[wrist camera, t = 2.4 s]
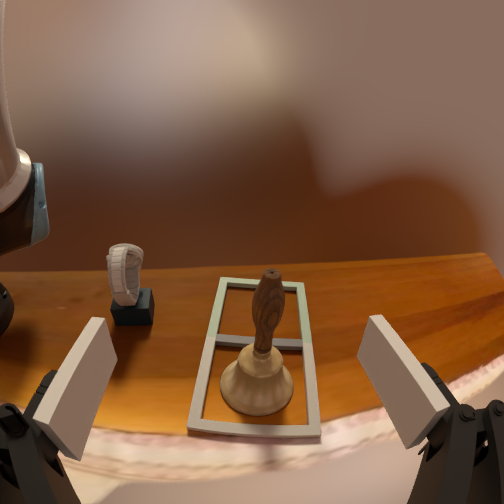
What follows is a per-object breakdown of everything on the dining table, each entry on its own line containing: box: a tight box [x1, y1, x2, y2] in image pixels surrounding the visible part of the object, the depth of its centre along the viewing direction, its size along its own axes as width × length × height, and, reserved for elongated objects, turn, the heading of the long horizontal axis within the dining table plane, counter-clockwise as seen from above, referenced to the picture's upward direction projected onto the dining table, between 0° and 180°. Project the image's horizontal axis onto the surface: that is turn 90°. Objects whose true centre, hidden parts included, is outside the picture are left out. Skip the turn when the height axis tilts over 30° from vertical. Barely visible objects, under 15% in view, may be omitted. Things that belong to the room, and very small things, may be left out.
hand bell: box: [220, 268, 293, 416], centre depth 24 cm, size 8×8×16 cm
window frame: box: [187, 277, 321, 438], centre depth 33 cm, size 13×26×1 cm, turn 177°
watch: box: [106, 244, 155, 326], centre depth 34 cm, size 6×8×11 cm
